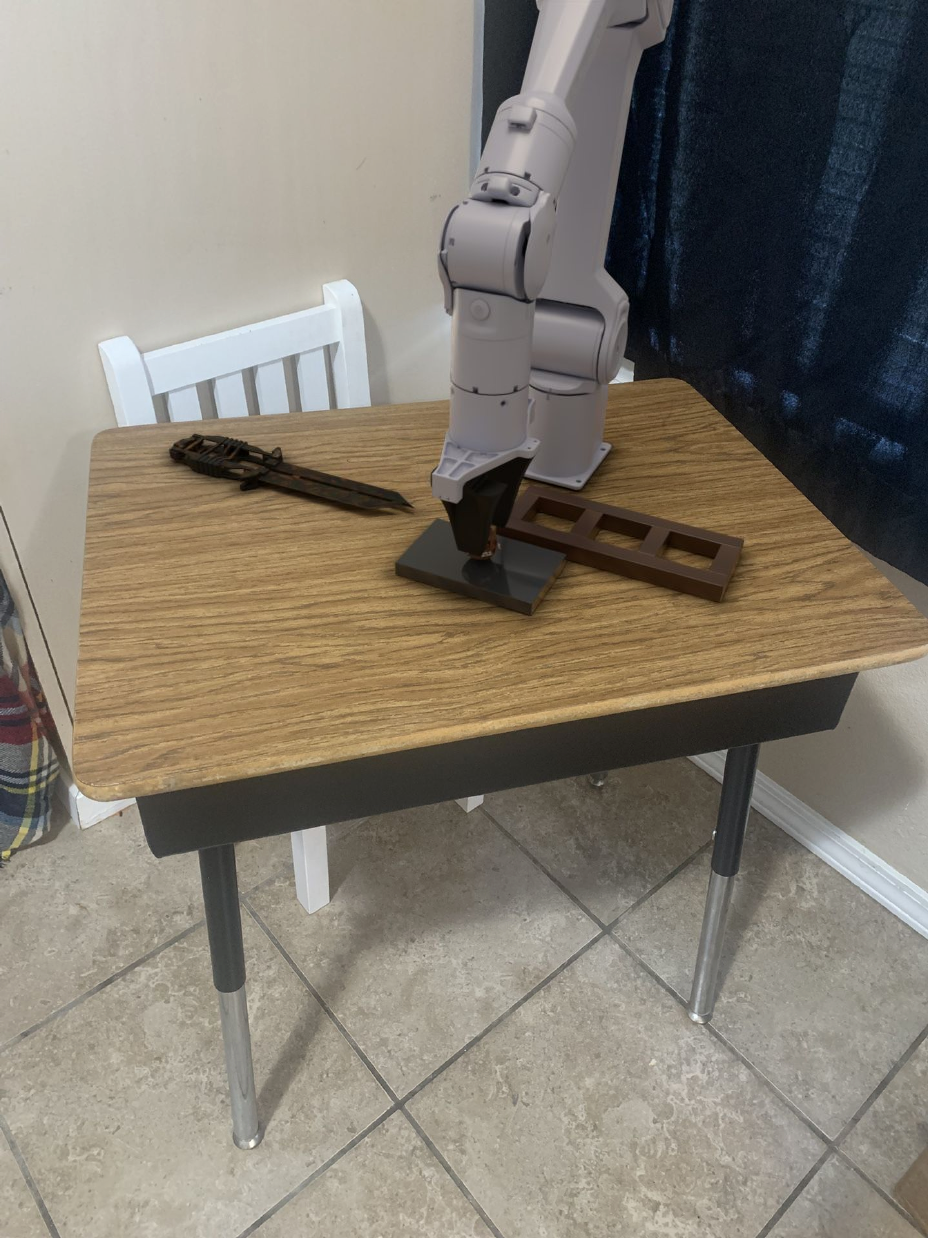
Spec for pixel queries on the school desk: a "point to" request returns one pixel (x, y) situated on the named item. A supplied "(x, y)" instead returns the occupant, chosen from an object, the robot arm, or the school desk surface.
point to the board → (482, 569)
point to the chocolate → (488, 547)
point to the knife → (274, 464)
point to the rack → (622, 560)
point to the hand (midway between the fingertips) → (482, 536)
